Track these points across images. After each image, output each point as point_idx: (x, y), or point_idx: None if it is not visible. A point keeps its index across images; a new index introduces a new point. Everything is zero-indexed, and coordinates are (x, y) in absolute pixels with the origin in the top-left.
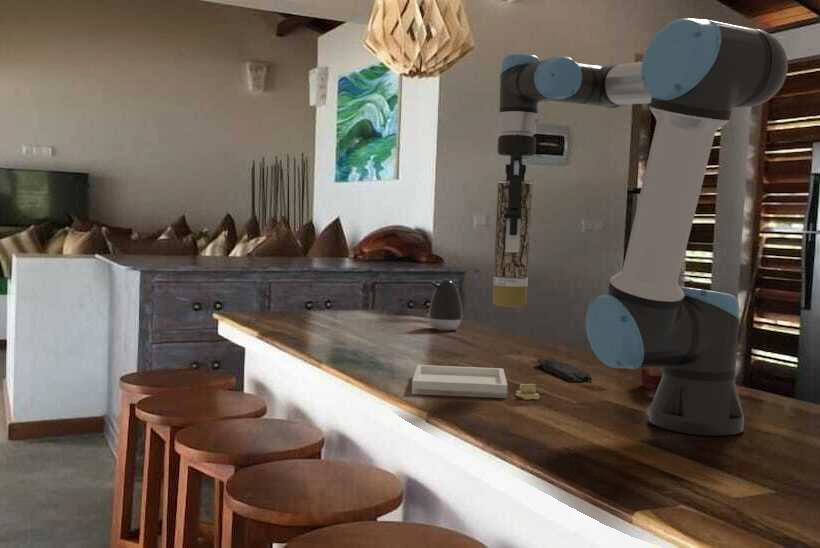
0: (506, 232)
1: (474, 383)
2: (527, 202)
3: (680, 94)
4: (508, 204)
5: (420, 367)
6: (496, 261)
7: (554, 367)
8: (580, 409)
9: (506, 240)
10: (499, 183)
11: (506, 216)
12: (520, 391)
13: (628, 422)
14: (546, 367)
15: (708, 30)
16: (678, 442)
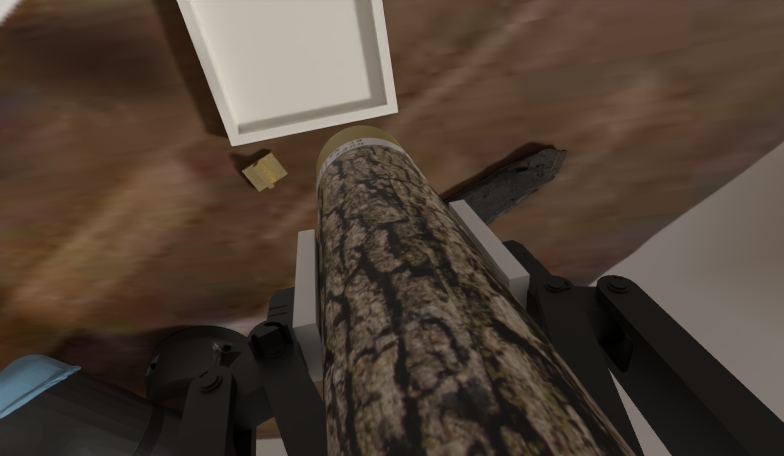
0: (296, 280)
1: (210, 84)
2: None
3: None
4: (212, 425)
5: None
6: (341, 175)
7: (483, 186)
8: (220, 250)
9: (297, 259)
10: None
11: (256, 342)
12: (255, 162)
13: (176, 308)
14: (504, 169)
15: None
16: (103, 359)
